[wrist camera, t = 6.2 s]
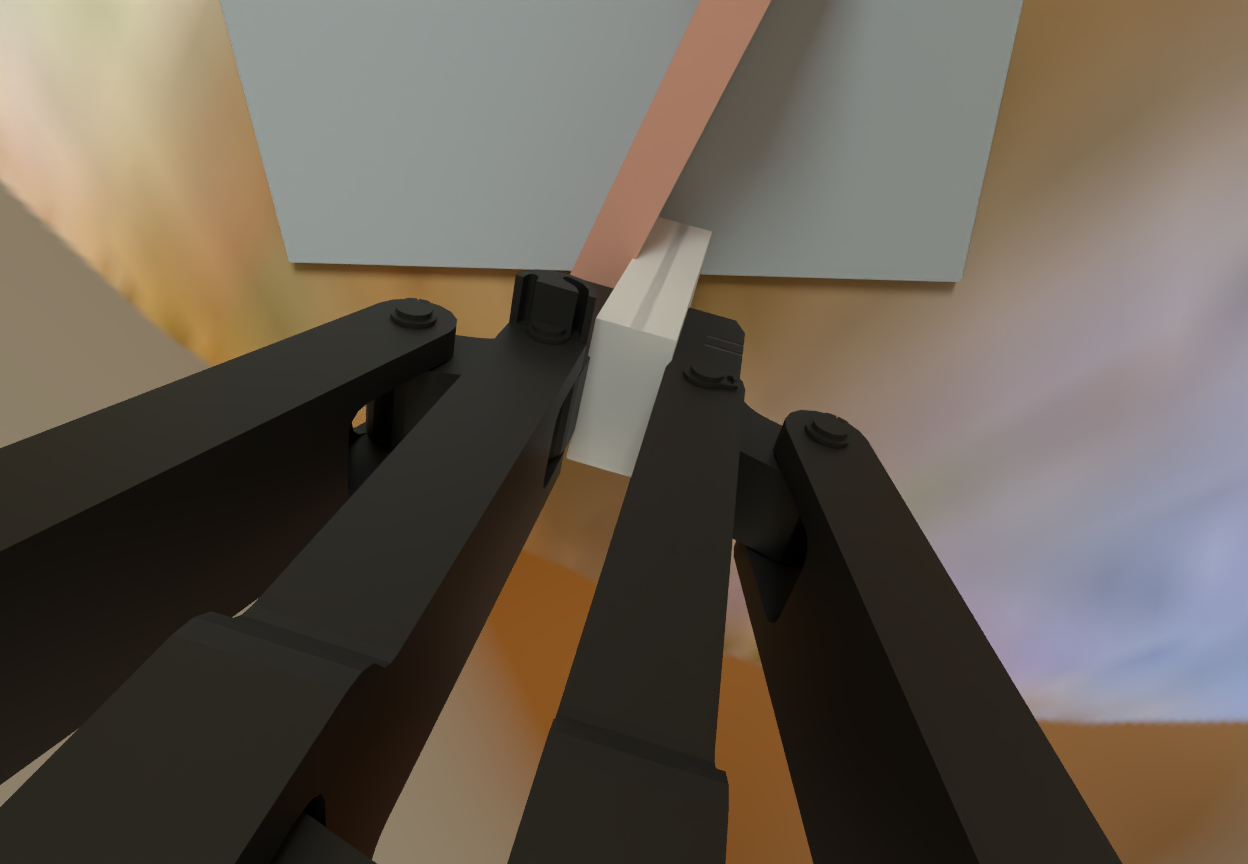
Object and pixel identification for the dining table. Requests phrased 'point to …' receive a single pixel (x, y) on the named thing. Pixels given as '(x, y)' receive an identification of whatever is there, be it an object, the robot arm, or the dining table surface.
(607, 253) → the fence panel
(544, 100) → the mat
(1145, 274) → the dining table surface
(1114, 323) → the dining table surface
